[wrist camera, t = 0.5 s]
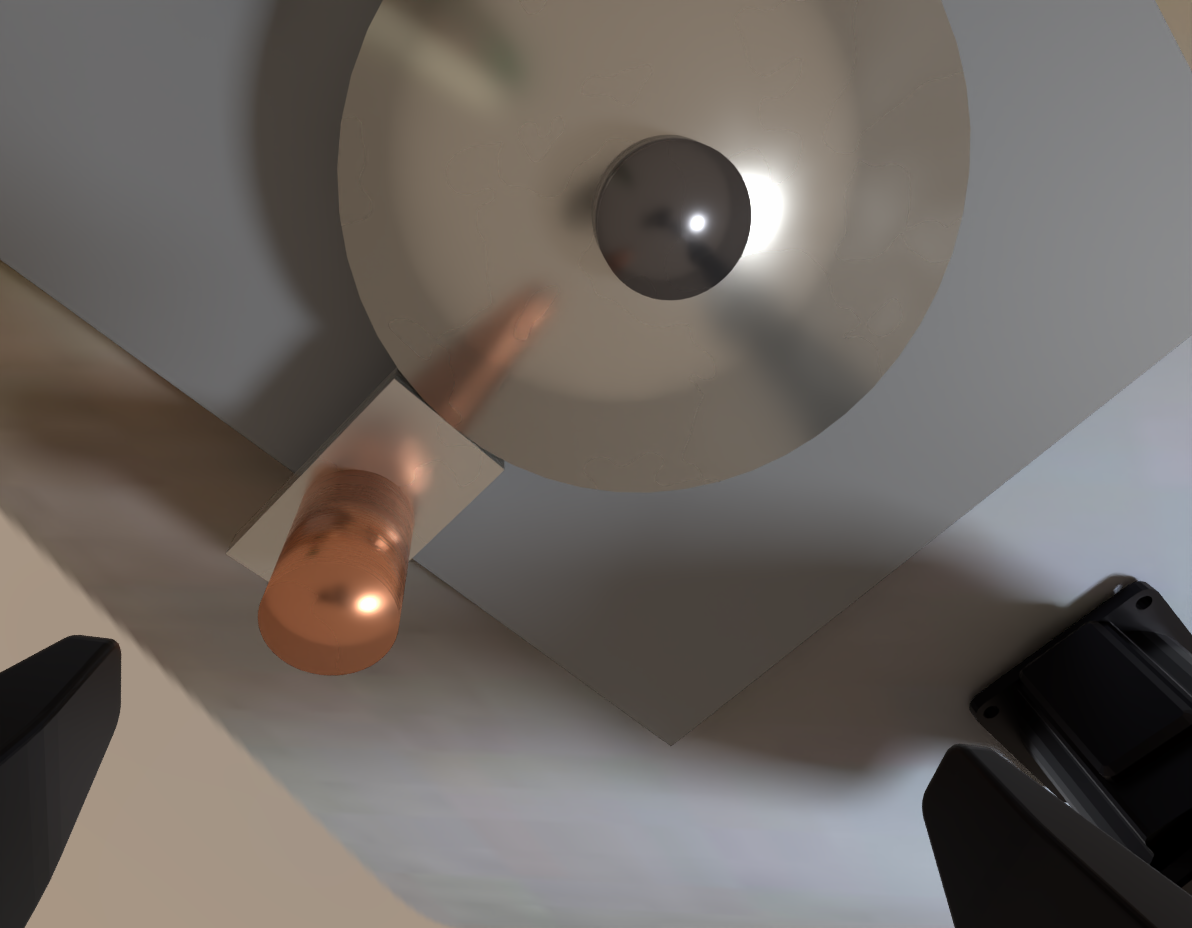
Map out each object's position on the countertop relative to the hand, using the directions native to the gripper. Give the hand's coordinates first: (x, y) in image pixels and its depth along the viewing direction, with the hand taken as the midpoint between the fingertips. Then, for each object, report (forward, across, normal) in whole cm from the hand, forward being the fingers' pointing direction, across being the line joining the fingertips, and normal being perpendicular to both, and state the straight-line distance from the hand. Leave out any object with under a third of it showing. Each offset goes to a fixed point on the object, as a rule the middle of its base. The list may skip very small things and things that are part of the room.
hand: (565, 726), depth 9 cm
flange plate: (+10, 0, -2) cm, 10 cm away
